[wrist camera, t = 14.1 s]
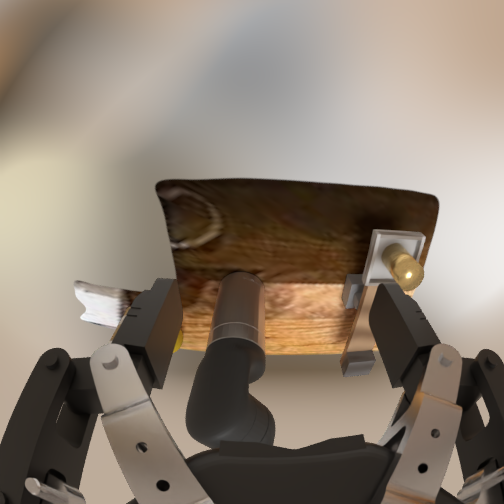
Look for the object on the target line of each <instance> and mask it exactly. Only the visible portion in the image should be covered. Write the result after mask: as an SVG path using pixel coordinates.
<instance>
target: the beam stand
mask: <svg viewBox="0 0 504 504" xmlns="http://www.w3.org/2000/svg"><path fill="white" fill-rule="evenodd" d="M362 276H363V274H347V277H346V282H345V286H344V290H343V294H342V300H343V303H344V305H345V308H346V309H347V308H355V309H356V310H357V309H358V306H359V303H360V299H361V296H362V293H363V289H364V284H363V282H362Z"/></svg>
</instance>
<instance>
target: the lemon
mask: <svg viewBox="0 0 504 504" xmlns="http://www.w3.org/2000/svg"><path fill="white" fill-rule="evenodd" d="M182 342H183V333H182V331H181V329H180V331H179V335H178V338H177V341H176V344H175V348H174V351H173V353H174V352H176V351H177V350H178V349H179V348H180V346H181V345H182Z"/></svg>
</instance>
